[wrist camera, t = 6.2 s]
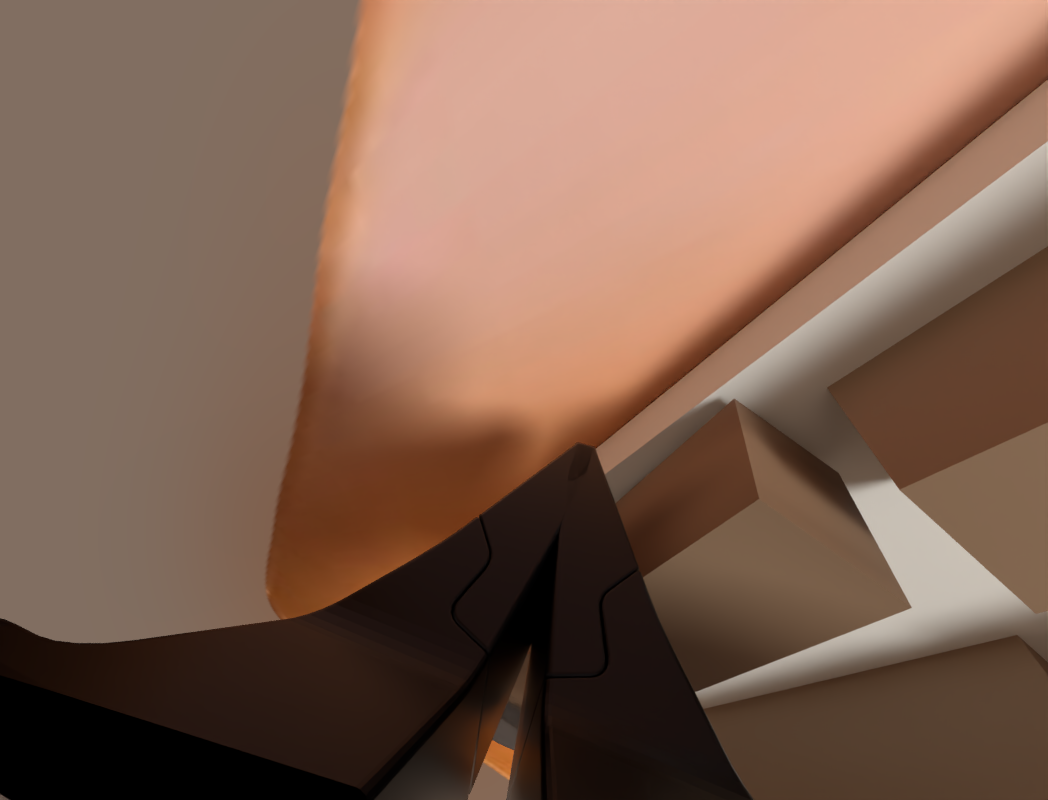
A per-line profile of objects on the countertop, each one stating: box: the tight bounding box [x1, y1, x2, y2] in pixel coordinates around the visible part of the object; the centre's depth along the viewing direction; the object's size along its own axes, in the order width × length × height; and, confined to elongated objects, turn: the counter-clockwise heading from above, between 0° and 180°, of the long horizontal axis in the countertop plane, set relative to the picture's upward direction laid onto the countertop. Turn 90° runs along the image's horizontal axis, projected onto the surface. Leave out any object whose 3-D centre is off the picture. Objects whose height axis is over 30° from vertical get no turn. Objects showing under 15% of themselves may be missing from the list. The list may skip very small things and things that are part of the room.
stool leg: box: [492, 399, 912, 750], centre depth 10 cm, size 11×3×3 cm, turn 150°
